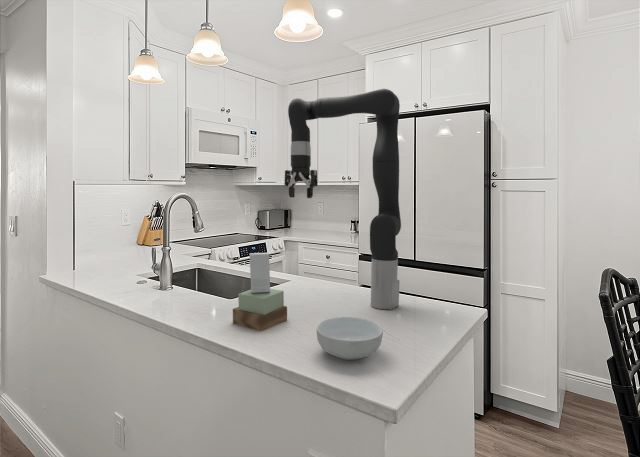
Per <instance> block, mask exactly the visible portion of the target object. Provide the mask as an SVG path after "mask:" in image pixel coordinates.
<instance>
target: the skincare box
mask: <svg viewBox="0 0 640 457" xmlns="http://www.w3.org/2000/svg"><path fill="white" fill-rule="evenodd" d="M249 265H250V266H249V268H250V270H249V271H250V290H251V293H260V292H270V289H271V274H270V269H271V268H270V254H269V252H254V253H253V252H251V253H249Z"/></svg>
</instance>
